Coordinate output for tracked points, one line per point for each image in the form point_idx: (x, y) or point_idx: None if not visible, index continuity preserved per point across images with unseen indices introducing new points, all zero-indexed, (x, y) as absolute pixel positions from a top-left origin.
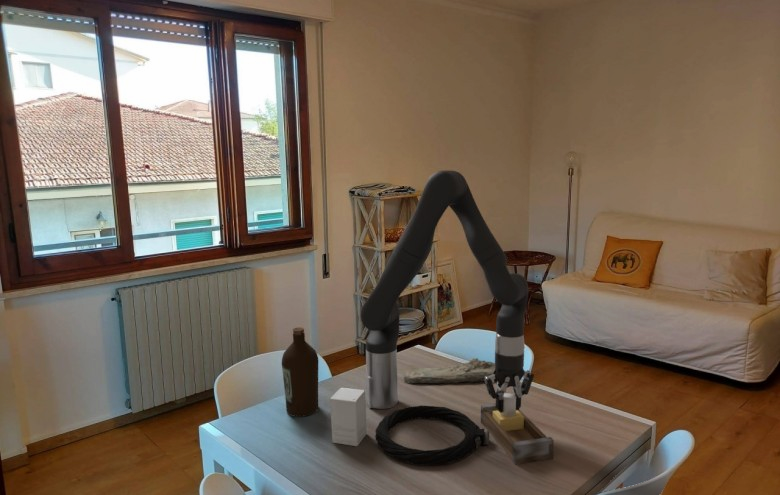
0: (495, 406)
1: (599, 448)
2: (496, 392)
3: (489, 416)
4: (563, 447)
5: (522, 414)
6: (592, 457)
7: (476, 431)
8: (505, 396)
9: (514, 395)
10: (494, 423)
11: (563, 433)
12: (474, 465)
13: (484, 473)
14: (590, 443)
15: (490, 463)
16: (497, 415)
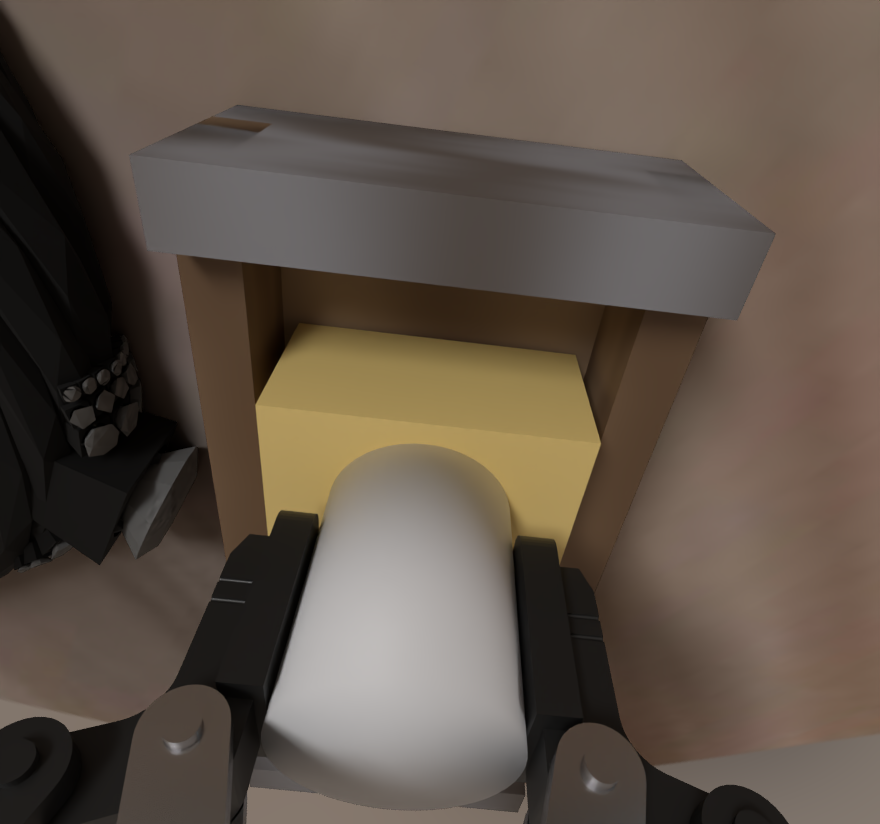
0: (371, 272)
1: (823, 700)
2: (134, 808)
3: (219, 392)
4: (653, 643)
5: (618, 482)
6: (706, 727)
7: (47, 487)
8: (342, 743)
9: (513, 762)
10: (226, 519)
11: (815, 550)
12: (48, 605)
13: (94, 659)
14: (836, 663)
15: (148, 619)
16: (276, 502)
